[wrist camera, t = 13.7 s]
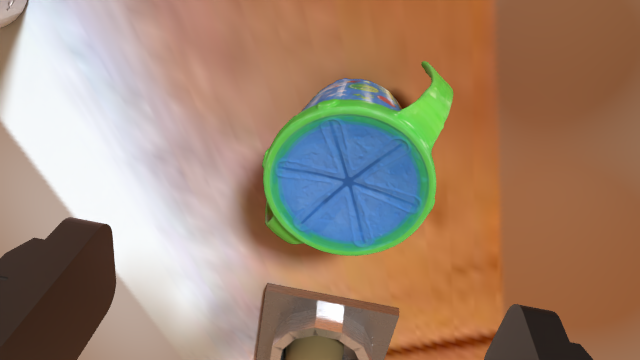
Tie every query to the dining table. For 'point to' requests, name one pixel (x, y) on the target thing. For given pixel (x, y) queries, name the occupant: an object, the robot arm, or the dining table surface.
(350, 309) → the hub
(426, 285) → the dining table surface
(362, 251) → the snack cup
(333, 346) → the cork
